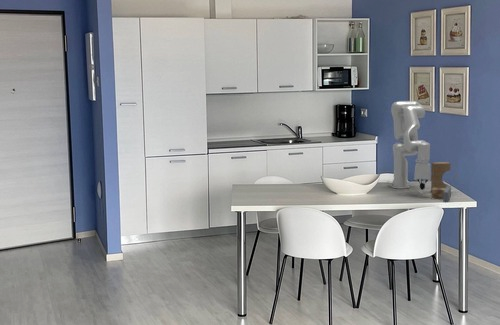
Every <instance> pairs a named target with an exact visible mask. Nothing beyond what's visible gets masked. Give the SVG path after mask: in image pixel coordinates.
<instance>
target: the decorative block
mask: <svg viewBox="0 0 500 325" xmlns="http://www.w3.org/2000/svg"><path fill="white" fill-rule="evenodd" d="M448 171H451V163H450V162H448V161H438V162H432V163H431V181H430V182H431V184H430V187H431V189H430V192H431V193H432V188H433V187H435V188H446V187H447V186H450V185H449V184H447V183H444V181H443V175H444V174H445V173H446V172H448Z"/></svg>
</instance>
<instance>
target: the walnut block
mask: <svg viewBox="0 0 500 325" xmlns="http://www.w3.org/2000/svg"><path fill="white" fill-rule="evenodd" d="M444 190H445V188H435V187H433V188H432V192H431V199H432V198H433V199H432V200H434V199H435V200H443V195H444Z"/></svg>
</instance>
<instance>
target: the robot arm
mask: <svg viewBox="0 0 500 325" xmlns="http://www.w3.org/2000/svg"><path fill="white" fill-rule="evenodd" d="M390 109H391V115H392V119H393V133H394V135H393V136H394V139H395V140H397V141H399V142H395V143H394V144H393V145H392V154H393V180H387V181H386V182H387V184H388V185H390V187H391V188H393V189H397V190H398V189H399V190H402V189H409V188H410V187H411V186H410V185H409V182H408V179H409V178H408V177H409V176H408V175H409V174H408V172H409V169H408V168H409V162H408V160H407V158H406V156H416V155H417V158H415V160H414V162H416V163H415V167H414V178H413V180H415V181H417V182H418V183H419V189H420V190H421V191H422V190H425V189H426V183H427V182H431V175H432V164H431V163H430V159H431V158H430V154H431V144H430V143H429V142H427V141H425V140H423V139H421V140H419V133H418V130H419V129H420V127H421V124H420V121H419V119H422V118H424V117H425V115H426V110H425V107H424V106H423V105H422V104H421V103H419V102H418V101H416V100H399V101H394V102H393V103H392V104H391V107H390ZM422 180H423V181H422Z"/></svg>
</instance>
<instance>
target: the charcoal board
mask: <svg viewBox="0 0 500 325" xmlns="http://www.w3.org/2000/svg"><path fill="white" fill-rule="evenodd" d="M451 191H452V186H451V185H449V186H447V187H446V188H445V190H444V195H443V199H442V200H443V202H444V203H448V202H449V200H448V199H450V197H451V195H452V194H451V193H452V192H451Z"/></svg>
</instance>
